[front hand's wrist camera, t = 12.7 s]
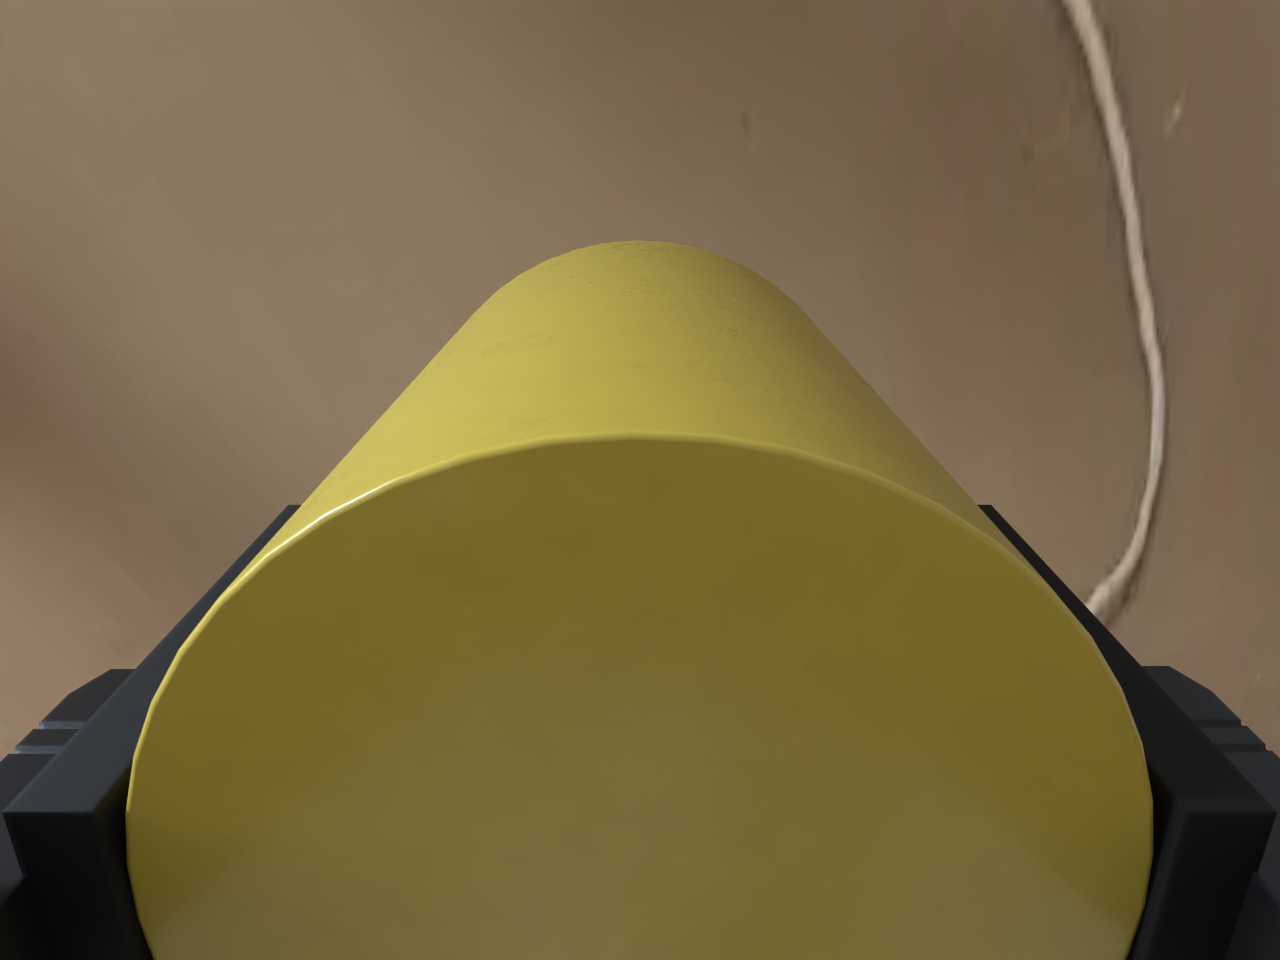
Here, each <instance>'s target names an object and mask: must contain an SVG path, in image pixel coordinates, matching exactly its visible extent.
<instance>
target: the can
mask: <svg viewBox="0 0 1280 960" xmlns="http://www.w3.org/2000/svg"><path fill="white" fill-rule="evenodd" d="M125 818H126V848H127V869H128V874H129V878H130V883H131V888H132V893H133V898H134V903H135V908H136V913H137V917H138V920H139V923H140V925H141V928H142V931H143V933H144V936H145V939H146V941H147V944H148V947H149V949H150V952H151V954H152V957H153V960H1126V958H1127V956H1128V954H1129V952H1130V949H1131V946H1132V943H1133V940H1134V937H1135V934H1136V931H1137V928H1138V925H1139V922H1140V919H1141V916H1142V913H1143V910H1144V907H1145V902H1146V896H1147V890H1148V884H1149V878H1150V872H1151V866H1152V860H1153V798H1152V792H1151V787H1150V781H1149V776H1148V771H1147V765H1146V760H1145V754H1144V749H1143V744H1142V740H1141V738H1140V735H1139V732H1138V730H1137V727H1136V724H1135V722H1134V719H1133V716H1132V714H1131V711H1130V708H1129V706H1128V703H1127V700H1126V698H1125V695H1124V692H1123V690H1122V688H1121V686H1120V684H1119V682H1118V681H1117V679H1116V677H1115V676H1114V674H1113V672H1112V670H1111V669H1110V667H1109V665H1108V664H1107V662H1106V660H1105V658H1104V657H1103V655H1102V653H1101V652H1100V650H1099V648H1098V647H1097V645H1096V643H1095V641H1094V640H1093V638H1092V636H1091V635H1090V634H1089V633H1088V631H1087V630H1086V629H1085V628H1084V627H1083V625H1082V624H1081V623H1080V622H1079V621H1078V619H1077V618H1076V617H1075V616H1074V615H1073V613H1072V612H1071V611H1070V610H1069V609H1068V607H1067V606H1066V605H1065V604H1064V603H1063V601H1062V600H1061V599H1060V598H1059V597H1058V595H1057V594H1056V593H1055V592H1054V591H1053V589H1052V588H1051V587H1050V586H1049V585H1048V584H1047V582H1046V581H1045V580H1044V579H1043V578H1042V577H1041V576H1040V575H1039V573H1038V572H1037V571H1036V570H1035V569H1034V568H1033V567H1032V566H1031V565H1030V563H1029V562H1028V561H1027V560H1026V559H1025V558H1024V557H1023V556H1022V555H1021V553H1020V552H1019V551H1018V550H1017V549H1016V548H1015V547H1014V546H1013V544H1012V543H1011V542H1010V541H1009V540H1008V539H1007V538H1006V537H1005V536H1004V534H1003V533H1002V532H1001V531H1000V530H999V529H998V528H997V527H996V526H995V524H994V523H993V522H992V521H991V520H990V519H989V518H988V517H987V515H986V514H985V513H984V512H983V511H982V510H981V509H980V508H979V507H978V505H977V504H976V503H975V502H974V501H973V500H972V499H971V498H970V497H969V495H968V494H967V493H966V492H965V491H964V490H963V489H962V488H961V486H960V485H959V484H958V483H957V482H956V481H955V480H954V479H953V478H952V476H951V475H950V474H949V473H948V472H947V471H946V470H945V469H944V467H943V466H942V465H941V464H940V463H939V462H938V461H937V460H936V459H935V457H934V456H933V455H932V454H931V453H930V452H929V451H928V450H927V449H926V447H925V446H924V445H923V444H922V443H921V442H920V441H919V440H918V438H917V437H916V436H915V435H914V434H913V433H912V432H911V431H910V430H909V428H908V427H907V426H906V425H905V424H904V423H903V422H902V421H901V420H900V418H899V417H898V416H897V415H896V414H895V413H894V412H893V411H892V409H891V408H890V407H889V406H888V405H887V404H886V403H885V402H884V401H883V399H882V398H881V397H880V396H879V395H878V394H877V393H876V392H875V391H874V389H873V388H872V387H871V386H870V385H869V384H868V383H867V382H866V380H865V379H864V378H863V377H862V376H861V375H860V374H859V373H858V372H857V370H856V369H855V368H854V367H853V366H852V365H851V364H850V363H849V362H848V360H847V359H846V358H845V357H844V356H843V355H842V354H841V353H840V351H839V350H838V349H837V348H836V347H835V346H834V345H833V344H832V343H831V341H830V340H829V339H828V338H827V337H826V336H825V335H824V334H823V333H822V331H821V330H820V329H819V328H818V327H817V326H816V325H815V324H814V322H813V321H812V320H811V319H810V318H809V317H808V316H807V315H806V314H805V312H804V311H803V310H802V309H801V308H800V307H799V306H798V305H797V304H796V303H795V302H794V301H792V300H791V299H790V298H789V297H788V296H787V295H786V294H785V293H784V292H782V291H781V290H780V289H779V288H778V287H776V286H775V285H774V284H772V283H771V282H769V281H768V280H766V279H765V278H763V277H762V276H760V275H759V274H757V273H756V272H754V271H753V270H751V269H749V268H747V267H745V266H743V265H741V264H738V263H736V262H734V261H732V260H730V259H728V258H726V257H723V256H720V255H717V254H714V253H711V252H708V251H705V250H702V249H699V248H696V247H690V246H685V245H680V244H674V243H669V242H656V241H624V242H612V243H603V244H599V245H594V246H590V247H585V248H581V249H576V250H573V251H571V252H568V253H565V254H562V255H560V256H557V257H554V258H552V259H549V260H546V261H544V262H543V263H541V264H539V265H537V266H535V267H533V268H531V269H529V270H528V271H526V272H524V273H522V274H520V275H519V276H517V277H516V278H515V279H513V280H512V281H510V282H509V283H508V284H506V285H505V286H504V287H502V288H501V289H499V290H498V291H497V292H496V293H494V294H493V295H492V296H491V297H490V298H489V299H488V300H487V301H486V302H485V303H484V304H483V305H482V306H481V307H480V308H479V309H478V310H477V311H476V312H475V313H474V314H473V315H472V316H471V317H470V318H469V319H468V321H467V322H466V323H465V324H464V325H463V326H462V327H461V328H460V330H459V331H458V332H457V333H456V334H455V335H454V336H453V337H452V338H451V340H450V341H449V342H448V343H447V344H446V345H445V346H444V347H443V348H442V350H441V351H440V352H439V353H438V354H437V355H436V356H435V357H434V358H433V360H432V361H431V362H430V363H429V364H428V365H427V366H426V367H425V368H424V370H423V371H422V372H421V373H420V374H419V375H418V376H417V377H416V378H415V380H414V381H413V382H412V383H411V384H410V385H409V386H408V387H407V389H406V390H405V391H404V392H403V393H402V394H401V395H400V396H399V397H398V399H397V400H396V401H395V402H394V403H393V404H392V405H391V406H390V407H389V409H388V410H387V411H386V412H385V413H384V414H383V415H382V416H381V417H380V419H379V420H378V421H377V422H376V423H375V424H374V425H373V426H372V427H371V429H370V430H369V431H368V432H367V433H366V434H365V435H364V436H363V437H362V439H361V440H360V441H359V442H358V443H357V444H356V445H355V446H354V447H353V449H352V450H351V451H350V452H349V453H348V454H347V455H346V456H345V458H344V459H343V460H342V461H341V462H340V463H339V464H338V465H337V466H336V468H335V469H334V470H333V471H332V472H331V473H330V474H329V475H328V476H327V478H326V479H325V480H324V481H323V482H322V483H321V484H320V485H319V486H318V488H317V489H316V490H315V491H314V492H313V493H312V494H311V495H310V496H309V498H308V499H307V500H306V501H305V502H304V503H303V504H302V505H301V506H300V508H299V509H298V510H297V511H296V512H295V513H294V514H293V515H292V517H291V518H290V519H289V520H288V521H287V522H286V523H285V524H284V525H283V527H282V528H281V529H280V530H279V531H278V532H277V533H276V534H275V535H274V537H273V538H272V539H271V540H270V541H269V542H268V543H267V544H266V545H265V547H264V548H263V549H262V550H261V551H260V552H259V553H258V554H257V555H256V557H255V558H254V559H253V560H252V561H251V562H250V563H249V564H248V565H247V567H246V568H245V569H244V570H243V571H242V572H241V573H240V574H239V576H238V577H237V578H236V579H235V580H234V581H233V582H232V583H231V584H230V586H229V587H228V588H227V589H226V590H225V591H224V592H223V593H222V594H221V596H220V597H219V598H218V599H217V600H216V602H215V603H214V604H213V606H212V607H211V608H210V609H209V611H208V612H207V613H206V615H205V616H204V617H203V619H202V620H201V621H200V622H199V624H198V625H197V626H196V628H195V629H194V630H193V632H192V633H191V634H190V635H189V637H188V638H187V639H186V641H185V642H184V643H183V645H182V646H181V647H180V649H179V650H178V652H177V654H176V656H175V658H174V660H173V662H172V664H171V665H170V667H169V669H168V671H167V673H166V675H165V677H164V679H163V680H162V682H161V684H160V686H159V688H158V690H157V692H156V694H155V696H154V697H153V699H152V701H151V704H150V707H149V710H148V713H147V716H146V719H145V722H144V725H143V728H142V732H141V735H140V738H139V741H138V744H137V747H136V750H135V753H134V757H133V764H132V771H131V778H130V785H129V792H128V799H127V806H126V813H125Z"/></svg>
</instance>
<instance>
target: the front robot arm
mask: <svg viewBox="0 0 1280 960" xmlns="http://www.w3.org/2000/svg"><path fill="white" fill-rule="evenodd" d="M300 506H301V505H288V506H287V507H286V508H285V509H284V510H283V511H282V512H281V513H280V514H279V516H278V517H277V518H276V519H275V520H274V521H273V522H272V523H271V524H270V525H269V526H268V527H267V528H266V529H265V531H264V532H263V533H262V534H261V535H260V536H259V537H258V538H257V539H256V540H255V541H254V542H253V543H252V545H251V546H250V547H249V548H248V549H247V550H246V551H245V552H244V553H243V554H242V555H241V556H240V557H239V558H238V560H237V561H236V562H235V563H234V564H233V565H232V566H231V567H230V568H229V569H228V570H227V571H226V572H225V573H224V575H223V576H222V577H221V578H220V579H219V580H218V581H217V582H216V583H215V584H214V585H213V586H212V587H211V588H210V590H209V591H208V592H207V593H206V594H205V595H204V596H203V597H202V598H201V599H200V600H199V601H198V602H197V603H196V605H195V606H194V607H193V608H192V609H191V610H190V611H189V612H188V613H187V614H186V615H185V616H184V617H183V619H182V620H181V621H180V622H179V623H178V624H177V625H176V626H175V627H174V628H173V629H172V630H171V631H170V632H169V634H168V635H167V636H166V637H165V638H164V639H163V640H162V641H161V642H160V643H159V644H158V645H157V646H156V647H155V649H154V650H153V651H152V652H151V653H150V654H149V655H148V656H147V657H146V658H145V659H144V660H143V661H142V662H141V664H140V665H139V666H138V667H137V668H136V669H111V670H109V671H107V672H105V673H104V674H102V675H100V676H99V677H97V678H95V679H94V680H92V681H90V682H89V683H87V684H85V685H83V686H82V687H80V688H78V689H77V690H75V691H73V692H72V693H70V694H68V695H67V696H66V697H65V698H64V699H63V700H62V701H61V702H60V703H59V704H58V705H57V706H56V707H55V708H54V709H53V710H52V711H51V712H50V713H49V714H48V715H47V716H46V717H45V718H44V719H43V720H42V721H41V722H40V723H39V725H40V726H39V729H33V730H32V731H31V732H30V733H29V734H28V735H27V736H26V737H25V738H24V739H23V740H22V741H21V742H20V743H19V744H18V745H17V746H16V747H15V752H14V754H8V755H7V756H6V757H5V758H4V759H3V760H2V761H1V762H0V960H153V957H152V954H151V952H150V949H149V947H148V944H147V941H146V939H145V936H144V933H143V931H142V928H141V925H140V923H139V920H138V917H137V913H136V908H135V903H134V898H133V893H132V888H131V883H130V878H129V874H128V869H127V848H126V818H125V813H126V806H127V799H128V792H129V785H130V778H131V771H132V764H133V757H134V753H135V750H136V747H137V744H138V741H139V738H140V735H141V732H142V728H143V725H144V722H145V719H146V716H147V713H148V710H149V707H150V704H151V701H152V699H153V697H154V696H155V694H156V692H157V690H158V688H159V686H160V684H161V682H162V680H163V679H164V677H165V675H166V673H167V671H168V669H169V667H170V665H171V664H172V662H173V660H174V658H175V656H176V654H177V652H178V650H179V649H180V647H181V646H182V645H183V643H184V642H185V641H186V639H187V638H188V637H189V635H190V634H191V633H192V632H193V630H194V629H195V628H196V626H197V625H198V624H199V622H200V621H201V620H202V619H203V617H204V616H205V615H206V613H207V612H208V611H209V609H210V608H211V607H212V606H213V604H214V603H215V602H216V600H217V599H218V598H219V597H220V596H221V594H222V593H223V592H224V591H225V590H226V589H227V588H228V587H229V586H230V584H231V583H232V582H233V581H234V580H235V579H236V578H237V577H238V576H239V574H240V573H241V572H242V571H243V570H244V569H245V568H246V567H247V565H248V564H249V563H250V562H251V561H252V560H253V559H254V558H255V557H256V555H257V554H258V553H259V552H260V551H261V550H262V549H263V548H264V547H265V545H266V544H267V543H268V542H269V541H270V540H271V539H272V538H273V537H274V535H275V534H276V533H277V532H278V531H279V530H280V529H281V528H282V527H283V525H284V524H285V523H286V522H287V521H288V520H289V519H290V518H291V517H292V515H293V514H294V513H295V512H296V511H297V510H298V509H299V508H300ZM978 507H979V508H980V509H981V510H982V511H983V512H984V513H985V514H986V515H987V517H988V518H989V519H990V520H991V521H992V522H993V523H994V524H995V526H996V527H997V528H998V529H999V530H1000V531H1001V532H1002V533H1003V534H1004V536H1005V537H1006V538H1007V539H1008V540H1009V541H1010V542H1011V543H1012V544H1013V546H1014V547H1015V548H1016V549H1017V550H1018V551H1019V552H1020V553H1021V555H1022V556H1023V557H1024V558H1025V559H1026V560H1027V561H1028V562H1029V563H1030V565H1031V566H1032V567H1033V568H1034V569H1035V570H1036V571H1037V572H1038V573H1039V575H1040V576H1041V577H1042V578H1043V579H1044V580H1045V581H1046V582H1047V584H1048V585H1049V586H1050V587H1051V588H1052V589H1053V591H1054V592H1055V593H1056V594H1057V595H1058V597H1059V598H1060V599H1061V600H1062V601H1063V603H1064V604H1065V605H1066V606H1067V607H1068V609H1069V610H1070V611H1071V612H1072V613H1073V615H1074V616H1075V617H1076V618H1077V619H1078V621H1079V622H1080V623H1081V624H1082V625H1083V627H1084V628H1085V629H1086V630H1087V631H1088V633H1089V634H1090V635H1091V636H1092V638H1093V640H1094V641H1095V643H1096V645H1097V647H1098V648H1099V650H1100V652H1101V653H1102V655H1103V657H1104V658H1105V660H1106V662H1107V664H1108V665H1109V667H1110V669H1111V670H1112V672H1113V674H1114V676H1115V677H1116V679H1117V681H1118V682H1119V684H1120V686H1121V688H1122V690H1123V692H1124V695H1125V698H1126V700H1127V703H1128V706H1129V708H1130V711H1131V714H1132V716H1133V719H1134V722H1135V724H1136V727H1137V730H1138V732H1139V735H1140V738H1141V740H1142V744H1143V749H1144V754H1145V760H1146V765H1147V771H1148V776H1149V781H1150V787H1151V792H1152V798H1153V860H1152V866H1151V872H1150V878H1149V884H1148V890H1147V896H1146V902H1145V907H1144V910H1143V913H1142V916H1141V919H1140V922H1139V925H1138V928H1137V931H1136V934H1135V937H1134V940H1133V943H1132V946H1131V949H1130V952H1129V954H1128V956H1127V958H1126V960H1280V758H1279V757H1278V756H1277V755H1276V754H1275V753H1274V752H1273V751H1267V750H1266V748H1265V744H1264V743H1263V742H1262V741H1261V740H1260V739H1259V738H1258V737H1257V736H1256V735H1255V734H1254V733H1253V732H1252V731H1251V730H1250V729H1249V728H1248V727H1247V726H1242V725H1241V720H1240V719H1239V718H1238V717H1237V716H1236V715H1235V714H1234V713H1233V712H1232V711H1231V710H1230V709H1229V708H1228V707H1227V706H1226V705H1225V704H1224V703H1223V702H1222V701H1221V700H1220V699H1219V698H1218V697H1217V696H1216V695H1215V694H1214V693H1213V692H1212V691H1210V690H1209V689H1207V688H1205V687H1204V686H1202V685H1200V684H1198V683H1197V682H1195V681H1193V680H1192V679H1190V678H1188V677H1187V676H1185V675H1183V674H1181V673H1180V672H1178V671H1176V670H1175V669H1173V668H1171V667H1169V666H1141V665H1140V664H1139V663H1138V662H1137V661H1136V660H1135V659H1134V658H1133V657H1132V656H1131V655H1130V654H1129V652H1128V651H1127V650H1126V649H1125V648H1124V647H1123V646H1122V645H1121V644H1120V643H1119V642H1118V641H1117V640H1116V639H1115V637H1114V636H1113V635H1112V634H1111V633H1110V632H1109V631H1108V630H1107V629H1106V628H1105V627H1104V626H1103V625H1102V623H1101V622H1100V621H1099V620H1098V619H1097V618H1096V617H1095V616H1094V615H1093V614H1092V613H1091V612H1090V611H1089V610H1088V608H1087V607H1086V606H1085V605H1084V604H1083V603H1082V602H1081V601H1080V600H1079V599H1078V598H1077V597H1076V596H1075V595H1074V593H1073V592H1072V591H1071V590H1070V589H1069V588H1068V587H1067V586H1066V585H1065V584H1064V583H1063V582H1062V581H1061V580H1060V578H1059V577H1058V576H1057V575H1056V574H1055V573H1054V572H1053V571H1052V570H1051V569H1050V568H1049V567H1048V566H1047V564H1046V563H1045V562H1044V561H1043V560H1042V559H1041V558H1040V557H1039V556H1038V555H1037V554H1036V553H1035V552H1034V551H1033V549H1032V548H1031V547H1030V546H1029V545H1028V544H1027V543H1026V542H1025V541H1024V540H1023V539H1022V538H1021V537H1020V536H1019V534H1018V533H1017V532H1016V531H1015V530H1014V529H1013V528H1012V527H1011V526H1010V525H1009V524H1008V523H1007V522H1006V520H1005V519H1004V518H1003V517H1002V516H1001V515H1000V514H999V513H998V512H997V511H996V510H995V509H994V508H993V507H992V505H978Z"/></svg>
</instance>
